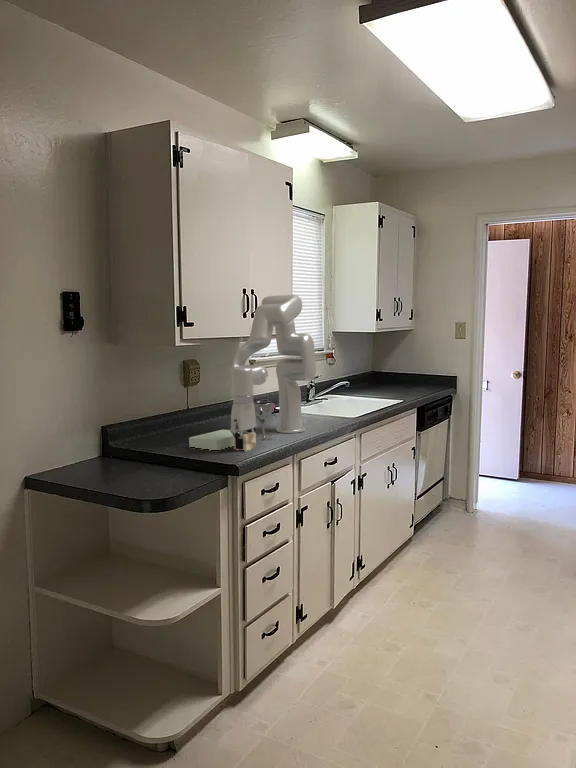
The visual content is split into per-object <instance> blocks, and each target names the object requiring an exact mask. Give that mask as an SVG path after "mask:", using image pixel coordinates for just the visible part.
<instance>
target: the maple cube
mask: <svg viewBox="0 0 576 768" xmlns="http://www.w3.org/2000/svg"><path fill="white" fill-rule="evenodd" d="M238 434H239V433H238ZM256 435H257V433H256V432H255V433H252V432H247V431H244V432H243V434H242V438H241V439H243V449H236V444H235V438H234V436H233V439H234V447H233V450H234V449H236V450H235V451H239V450H244V451H243V452H248V451H247V450H249V451H252V450H251V449H253V450H255V449H254V448H256V449H257V440H256V438H257V436H256Z"/></svg>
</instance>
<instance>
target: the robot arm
mask: <svg viewBox="0 0 576 768" xmlns="http://www.w3.org/2000/svg"><path fill="white" fill-rule="evenodd" d="M302 310H303V301H302V299H301V297H300V296H298V295H295V294H285V295H283V294H281V295H269V296H266V297H264V298H263V299H262V300H261V304H260V305H259V306H257V307H256V309H255V311H254V314H253V315H254V316H253V321H252V324H251V329H250V334H249V338H248V339H247V340H246V341H245V343H243V344H242V345H241V347H240V348H239V349H238V350H237V352H236V353H235V355H234V356H233V357H234V358H233V361H232V365H231V369H230V377H231V380H232V395H233V396H232V399H233V404H232V405H231V415H230V429H229V430H230V432H231V433H232V434H233V436H234V438H235V444H236V449H243V439H241V438H242V434H243V431H244V432H252V433H256V431H257V428H258V426H259V423H257V418H256V415H255V407H254V403H253V402H254V386H256V385H258V386H260V385H264V384H265V383H266V382H267V380H268V377H269V371H268V370H267V368H266V367H265V366H263V365H260V364H259V365H257V364H255V365H254V364H246V362H247V360H248V359H249V358H250V357H251V356H252V355H254V354H256V353H258V352H260V351H261V350H264V349H265V348H268V347H269V346H270V344H271V341H272V337H273V333H274V332H275V339H276V340H275V341H276V348H277V351H278V353H279V355H281V356H284V357H291V358H281V359H280V360H278V362H277V363H276V365H275V372H276V379H277V383H278V384H277V386H278V406H279V407H278V408H279V412H278V413H279V414H278V415H279V426H278V427H277V428H276V432H278V433H283V434H298V433H302V432H305V431H306V427H305V426H303V425H305V424H306V423H307V420H306V419H305V418H304V419H302V392H301V391H302V390H301V388H300V385H299V384H298V382H297V381H299V382H303V381H304V382H305V381H306V382H309V381H313V380H314V379H315V378H316V375H317V363H316V362H317V361H316V351H315V343H314V339H313V337H312V336H311V335H310V334H308V333H305V332H303V333H297V332H296V324H295V321H294V320H295V319H296V318H297V317H298V316H299V315H301V312H302ZM273 331H274V332H273ZM292 357H296V358H292ZM297 357H301V358H297ZM238 432H240V433H239V434H238Z"/></svg>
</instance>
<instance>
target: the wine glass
mask: <svg viewBox="0 0 576 768" xmlns="http://www.w3.org/2000/svg"><path fill="white" fill-rule="evenodd" d="M253 403H254V407H255V415H256V420H257V421H258V422H259V423H260V425H261V432H262V436H258V437H256V441H267V440H266V439H271V438H272V437H271V438H270V436H266V434H265V426H266V423H267V422H268V420H270V418H271V416H272V414H273V413H272V412H273V401H270V400H269V401H267V400H264V401H262V400H260V401H253ZM271 440H272V439H271Z"/></svg>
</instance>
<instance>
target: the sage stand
mask: <svg viewBox="0 0 576 768" xmlns="http://www.w3.org/2000/svg"><path fill="white" fill-rule="evenodd" d="M243 432H245V431H243ZM238 433H240V432H238ZM188 443H189V448H190V447H195V448H202V449H201V450H203V449H209V450H208V451H211V450H220V451H222V450H221V449H223V450H226V449H225V448H227V449H229V448H228V447H230V448H233V447H232V446H234V439H233V434H232V433H231V432H230V429H219V430H216V431H211V432H206V433H202V434H199V435H194V436H190V437H188ZM195 448H194V449H195Z"/></svg>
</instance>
